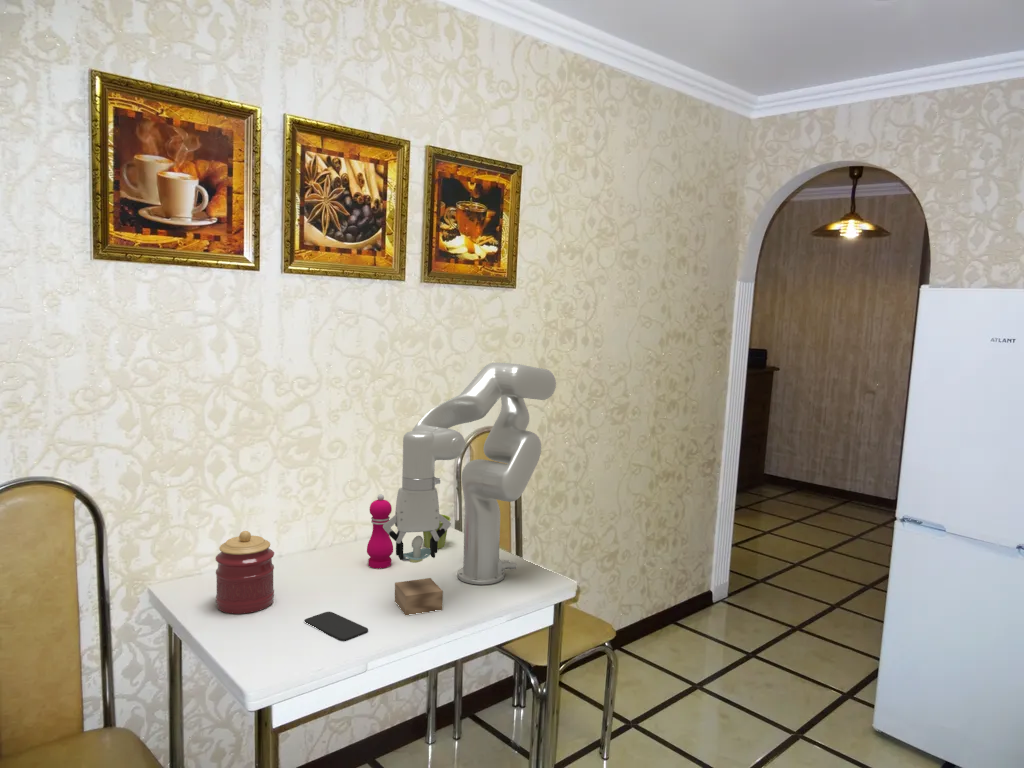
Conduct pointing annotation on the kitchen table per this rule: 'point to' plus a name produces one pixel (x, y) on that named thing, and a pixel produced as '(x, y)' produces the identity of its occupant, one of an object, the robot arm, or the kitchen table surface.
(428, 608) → the block
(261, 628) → the kitchen table surface
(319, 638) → the kitchen table surface
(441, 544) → the plant pot
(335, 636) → the phone
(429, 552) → the pacifier
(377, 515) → the pepper mill
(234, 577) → the canister
